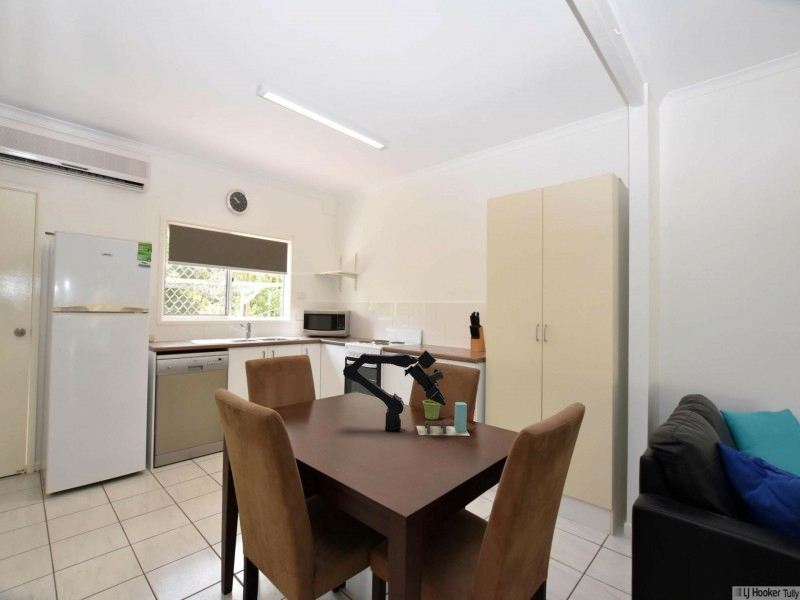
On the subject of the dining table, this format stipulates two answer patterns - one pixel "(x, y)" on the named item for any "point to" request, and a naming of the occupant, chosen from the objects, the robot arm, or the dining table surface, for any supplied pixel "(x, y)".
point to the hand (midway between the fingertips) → (444, 402)
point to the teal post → (460, 416)
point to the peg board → (438, 430)
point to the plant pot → (431, 409)
